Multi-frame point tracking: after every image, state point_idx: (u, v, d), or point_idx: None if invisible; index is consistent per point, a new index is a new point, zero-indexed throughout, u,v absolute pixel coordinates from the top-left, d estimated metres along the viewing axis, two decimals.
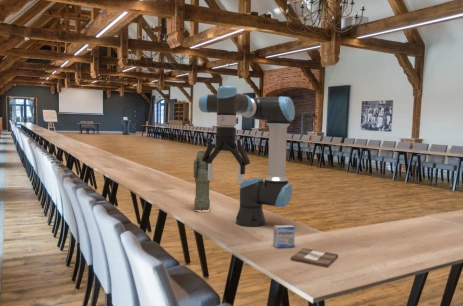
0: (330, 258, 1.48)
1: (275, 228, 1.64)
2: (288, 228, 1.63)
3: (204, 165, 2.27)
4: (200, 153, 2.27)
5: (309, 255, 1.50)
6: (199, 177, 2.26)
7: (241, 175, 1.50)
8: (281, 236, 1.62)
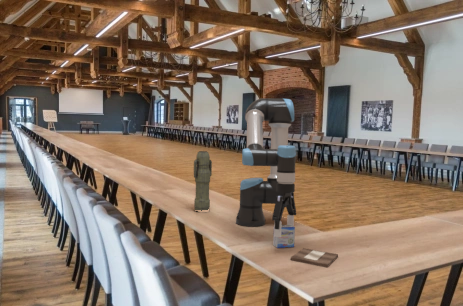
0: (330, 258, 1.48)
1: None
2: (288, 228, 1.63)
3: (204, 165, 2.27)
4: (200, 153, 2.27)
5: (309, 255, 1.50)
6: (199, 177, 2.26)
7: (277, 230, 1.58)
8: (281, 236, 1.62)
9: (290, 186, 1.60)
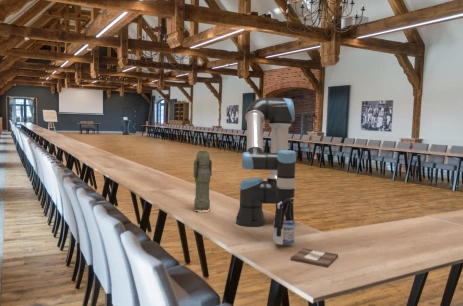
0: (330, 258, 1.48)
1: None
2: (288, 224, 1.64)
3: (204, 165, 2.27)
4: (200, 153, 2.27)
5: (309, 255, 1.50)
6: (199, 177, 2.26)
7: (279, 237, 1.61)
8: None
9: (290, 192, 1.61)
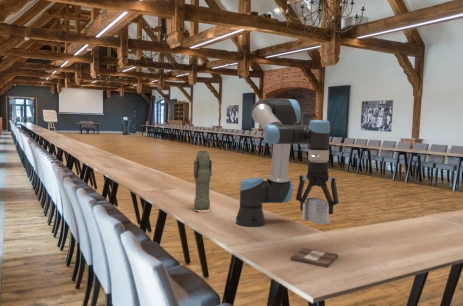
0: (330, 258, 1.48)
1: (321, 203, 1.45)
2: None
3: (204, 165, 2.27)
4: (200, 153, 2.27)
5: (309, 255, 1.50)
6: (199, 177, 2.26)
7: (329, 215, 1.47)
8: None
9: None
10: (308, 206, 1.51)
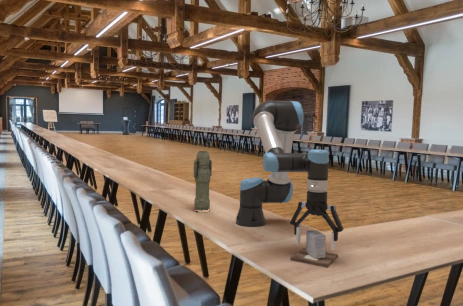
0: (330, 258, 1.48)
1: (320, 237, 1.46)
2: None
3: (204, 165, 2.27)
4: (200, 153, 2.27)
5: (309, 255, 1.50)
6: (199, 177, 2.26)
7: (334, 241, 1.47)
8: None
9: None
10: (307, 239, 1.52)
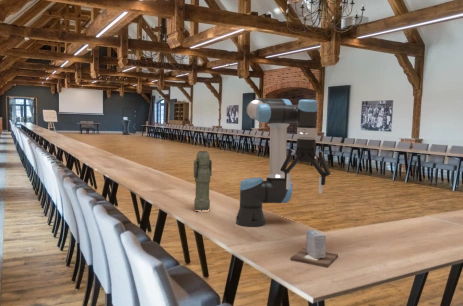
0: (330, 258, 1.48)
1: (320, 237, 1.46)
2: None
3: (204, 165, 2.27)
4: (200, 153, 2.27)
5: (309, 255, 1.50)
6: (199, 177, 2.26)
7: (321, 185, 1.56)
8: None
9: None
10: (307, 239, 1.52)
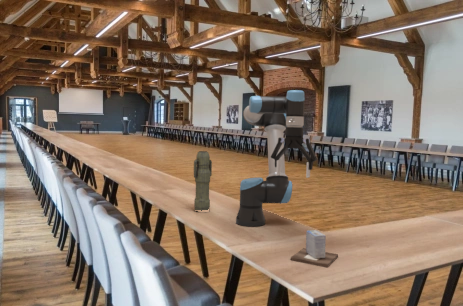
0: (330, 258, 1.48)
1: (320, 237, 1.46)
2: None
3: (204, 165, 2.27)
4: (200, 153, 2.27)
5: (309, 255, 1.50)
6: (199, 177, 2.26)
7: (309, 170, 1.67)
8: None
9: None
10: (307, 239, 1.52)
